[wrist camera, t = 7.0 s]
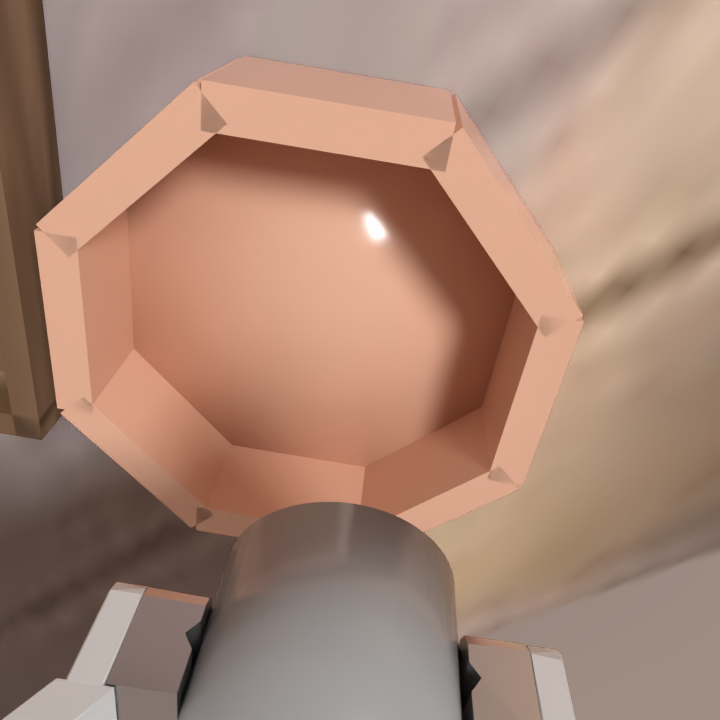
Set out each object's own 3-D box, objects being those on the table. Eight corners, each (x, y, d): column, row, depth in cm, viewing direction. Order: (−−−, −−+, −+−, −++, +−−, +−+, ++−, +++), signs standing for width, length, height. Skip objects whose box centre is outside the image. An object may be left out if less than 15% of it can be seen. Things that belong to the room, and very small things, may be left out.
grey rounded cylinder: (478, 523, 10) (510, 798, 7) (429, 669, 12) (435, 935, 9) (230, 484, 10) (139, 742, 7) (222, 638, 12) (150, 894, 9)
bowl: (602, 115, 16) (646, 154, 13) (479, 492, 23) (488, 578, 20) (91, 29, 16) (9, 47, 13) (119, 432, 23) (70, 509, 20)
